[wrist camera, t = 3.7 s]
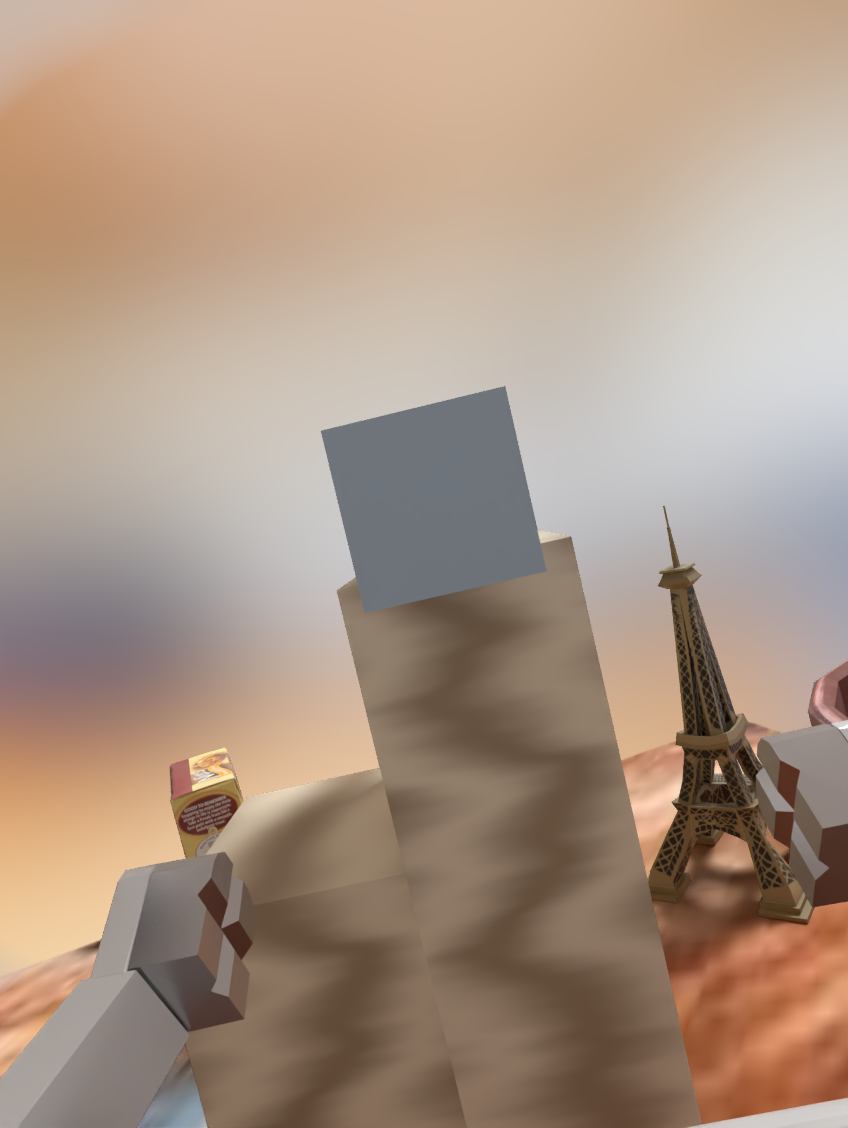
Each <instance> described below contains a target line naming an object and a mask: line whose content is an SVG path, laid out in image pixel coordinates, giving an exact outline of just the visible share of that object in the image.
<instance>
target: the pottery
mask: <svg viewBox="0 0 848 1128" xmlns="http://www.w3.org/2000/svg"><path fill="white" fill-rule="evenodd" d="M808 713H809V717H810V721H811V725H812V727H814V726H818V725H822V724H832V723H836V722H841V721H845V720H848V660H847V661H845V662H844V663H842V664H841V665H839V666H838V667H836V668H835V669H833V670H832V671H830V672H829V673H827V674H826V675H825V676H823V677H822V678H820V679H819V680H817V681H816V682H814V685H813V690H812V694H811V699H810V704H809V708H808Z"/></svg>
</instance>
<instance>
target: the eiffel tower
mask: <svg viewBox="0 0 848 1128" xmlns="http://www.w3.org/2000/svg"><path fill="white" fill-rule="evenodd" d="M663 508H664V513H665V517H666V522H667V526H668V528H667V530H668V535H669V541H670V548H671V555H672V561H673V566H670V567H667V568H666V569H664V570H662V571H660V574H663V576H662V579H661V581H660V583H659V585H658V586H659V587H662V588H666V589H670V593H671V603H672V613H673V623H674V632H675V641H676V652H677V661H678V672H679V682H680V692H681V702H682V712H683V721H684V730H683V731H680V732H678V733H677V736H676V745H679V746H682V748H683V750H684V766H683V781H682V785H681V790H680V794H679V797H678V798H677V799H675V800H674V801H672V803H673V805H674V806H675V807H676V809H677V810H678V812H677V814H676V816H675V818H674V820H673V823H672V825H671V827H670V829H669V831H668V833H667V835H666V837H665V840H664V842H663V844H662V846H661V848H660V851H659V853H658V855H657V857H656V859H655V862H654V864H653V866H652V868H651V870H650V875H649V877H648V878H647V880H648V884H649V889H650V893H651V898H652V900H657V901H664V902H670V903H677V902H678V900H679V899H680V897H681V896H682V894H683V893H684V891H685V890H686V888H687V887H688V885H689V884H690V882H691V879H690V874H689V873H684V871H685V868H686V865H687V863H688V860H689V858H690V855H691V853H692V850H693V847H694V845H695V844H705V845H716V844H717V842H718V841H719V839H720V838H721V836H722V835H723V833H724V832H726V833H729V834H731V835H733V836H736V837H739V838H740V839H742V840H744V841H746V842H747V843H748V846H749V850H750V854H751V857H752V861H753V864H754V868H755V871H756V875H757V878H758V882H759V886H760V889H761V893H762V897H761V899H760V901H759V907H760V909H759V911H758V916H762V917H768V918H775V919H781V920H788V921H794V922H801V923H807V924H808V923H809V920H810V918H811V915H812V913H813V910H814V908H815V907H812V906H811V904H810V903H809V901H808V899H807V897H806V896H805V894H804V892H803V890H802V888H801V887H800V885H799V883H798V881H797V879H796V878H795V876H794V874H793V872H792V870H791V869H790V867H789V865H788V864H787V863H786V861H785V860H784V859H783V858H782V857H781V855H780V854H779V853H778V852H777V850H776V849H775V848H774V847H773V846H772V844H771V843H770V842H769V841H768V840H767V838H766V829H767V824H766V822H765V820H764V817H763V815H762V813H761V810H760V807H759V803H758V798H757V794H756V775H757V774H758V773H759V771H760V770H761V769H762V768H763V766H762V765H761V763H760V762H759V761H758V759H757V758H756V756H755V754H754V752H753V750H752V748H751V746H750V744H749V742H748V740H747V739H746V737H745V735H744V734H745V731H746V729H747V726H748V724H749V723H748V721H747V719H746V718H745V716H744V714H743V713H742V714H737V715H735V712H734V709H733V706H732V703H731V700H730V697H729V694H728V691H727V688H726V685H725V682H724V679H723V676H722V673H721V670H720V667H719V664H718V661H717V658H716V655H715V652H714V649H713V646H712V643H711V640H710V637H709V634H708V631H707V628H706V625H705V622H704V619H703V616H702V613H701V610H700V606H699V603H698V600H697V598H696V594H695V591H694V588H693V584H694V583H695V581H697V580H698V578H699V577H700V576H701V574H699V573H698V572H697V571H696V570H694V568H692V566H694V565H695V564H694V563H691V564H684V565H680V564H679V560H678V556H677V553H676V549H675V545H674V541H673V538H672V534H671V530H670V527H669V524H668V519H667V515H666V510H665V506H663ZM736 758H737V759H736ZM715 760H718V763H719V766H720V768H721V771H722V773H723V774H714V766H715ZM737 760H738V761H737ZM738 762H739V764H740V766H741V768H742V770H743V772H744V774H745V775H743V774H742V771H741V769H740V766H739V764H738ZM789 849H790V848H789Z"/></svg>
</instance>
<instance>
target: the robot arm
mask: <svg viewBox="0 0 848 1128" xmlns="http://www.w3.org/2000/svg"><path fill="white" fill-rule="evenodd" d="M757 757H758V758H759V760H760V762H761V763H762V765H763V768H762V769H761V770H760V771H759V773H758V774H757V775H756V794H757V798H758V803H759V807H760V810H761V813H762V815H763V817H764V820H765V822H766V824H767V826H768V828H769V830H770V832H771V834H772V836H773V838H774V839H776V840H777V841H779V842H781V843H782V844H784V845H785V846H787V847H789V848H790V857H789V867H790V869H791V870H792V872H793V874H794V876H795V878H796V879H797V881H798V883H799V885H800V887H801V888H802V890H803V892H804V894H805V896H806V897H807V899H808V901H809V903H810V904H811V906H812V907H818V906H824V905H829V904H835V903H841V902H847V901H848V720H845V721H841V722H836V723H832V724H822V725H818V726H814V727H810V728H805V729H801V730H796V731H791V732H787V733H782V734H778V735H773V736H769V737H764V738H761V739H760V741H759V743H758V747H757ZM232 870H233V863H232V862H231V860H230V859H229V857H228V856H227V854H226V853H225V852H220V853H215V854H209V855H204V856H198V857H193V858H187V859H182V860H176V861H171V862H166V863H160V864H155V865H150V866H145V867H139V868H135V869H130V870H125V872H124V874H123V875H122V876H121V878H120V879H119V881H118V883H117V887H116V890H115V894H114V897H113V901H112V904H111V908H110V911H109V915H108V918H107V922H106V925H105V928H104V932H103V935H102V939H101V942H100V946H99V949H98V953H97V956H96V960H95V963H94V967H93V970H92V974H91V977H90V979H86V980H82V981H80V982H79V983H78V985H77V986H76V987H75V988H74V989H73V991H72V992H71V993H70V994H69V996H68V997H67V998H66V999H65V1000H64V1002H63V1003H62V1004H61V1005H60V1006H59V1008H58V1009H57V1010H56V1011H55V1013H54V1014H53V1015H52V1016H51V1017H50V1019H49V1020H48V1021H47V1022H46V1023H45V1025H44V1026H43V1027H42V1028H41V1030H40V1031H39V1032H38V1033H37V1034H36V1036H35V1037H34V1038H33V1039H32V1040H31V1042H30V1043H29V1044H28V1045H27V1047H26V1048H25V1049H24V1050H23V1051H22V1053H21V1054H20V1055H19V1056H18V1057H17V1059H16V1060H15V1061H14V1062H13V1063H12V1065H11V1066H10V1067H9V1068H8V1070H7V1071H6V1072H5V1073H4V1074H3V1076H2V1077H1V1078H0V1128H137V1126H138V1125H139V1123H140V1121H141V1120H142V1118H143V1116H144V1114H145V1113H146V1111H147V1109H148V1107H149V1106H150V1104H151V1102H152V1100H153V1099H154V1097H155V1095H156V1093H157V1092H158V1090H159V1088H160V1087H161V1085H162V1083H163V1081H164V1080H165V1078H166V1076H167V1074H168V1073H169V1071H170V1069H171V1067H172V1066H173V1064H174V1062H175V1060H176V1059H177V1057H178V1055H179V1053H180V1052H181V1050H182V1048H183V1047H184V1045H185V1043H186V1041H187V1040H188V1038H189V1036H190V1035H189V1033H188V1032H191V1031H195V1030H200V1029H204V1028H208V1027H213V1026H217V1025H221V1024H226V1023H230V1022H235V1021H239V1020H243V1019H245V1010H246V1002H247V993H248V984H249V975H250V973H249V971H248V970H247V968H246V967H245V965H244V964H243V962H242V961H241V960H242V959H243V957H244V956H245V954H246V953H247V951H248V950H249V949H250V947H251V946H252V944H253V938H254V927H255V922H254V910H253V903H252V899H251V896H250V893H249V890H248V888H247V887H246V885H245V883H244V881H242V880H239V879H237V878H235V877H233V876H232ZM686 1128H848V1098H844V1099H838V1100H833V1101H828V1102H822V1103H817V1104H811V1105H806V1106H800V1107H795V1108H790V1109H784V1110H779V1111H773V1112H768V1113H762V1114H757V1115H752V1116H746V1117H741V1118H735V1119H730V1120H724V1121H719V1122H713V1123H708V1124H703V1125H697V1126H692V1127H686Z"/></svg>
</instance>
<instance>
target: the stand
mask: <svg viewBox="0 0 848 1128" xmlns="http://www.w3.org/2000/svg"><path fill="white" fill-rule="evenodd" d="M538 534H539V539H540V543H541V548H542V552H543V557H544V561H545V566H546V570H547V571H546V572H542V573H537V574H533V575H529V576H524V577H520V578H515V579H511V580H507V581H502V582H498V583H494V584H489V585H485V586H481V587H476V588H472V589H468V590H463V591H459V592H455V593H450V594H446V595H441V596H437V597H433V598H428V599H424V600H420V601H415V602H411V603H407V604H402V605H398V606H394V607H389V608H385V609H381V610H376V611H372V612H367V613H365V612H364V608H363V604H362V599H361V595H360V591H359V587H358V583H357V579H356V577H355V578H354V579H353V580H351V581H350V582H348V583H347V584H346V585H344V586H343V587H341V588H340V589H338V590H337V594H338V598H339V602H340V606H341V610H342V614H343V618H344V622H345V627H346V630H347V635H348V639H349V643H350V647H351V651H352V655H353V659H354V664H355V668H356V672H357V675H358V680H359V684H360V688H361V693H362V697H363V700H364V705H365V709H366V713H367V717H368V721H369V726H370V730H371V734H372V737H373V742H374V746H375V750H376V754H377V759H378V763H379V767H380V768H377V769H372V770H368V771H363V772H359V773H354V774H350V775H345V776H340V777H336V778H331V779H327V780H322V781H317V782H313V783H308V784H304V785H300V786H295V787H290V788H286V789H281V790H276V791H272V792H267V793H263V794H258V795H254V796H250V797H246V798H245V800H244V801H243V803H242V804H241V805H240V807H239V808H238V810H237V811H236V812H235V814H234V815H233V817H232V818H231V820H230V821H229V822H228V824H227V825H226V827H225V828H224V829H223V831H222V832H221V834H220V835H219V836H218V838H217V839H216V841H215V842H214V843H213V845H212V846H211V848H210V849H209V850H208V852H207V853H206V855H209V854H215V853H220V852H225V853H226V854H227V856H228V857H229V859H230V860H231V862H232V863H233V870H232V876H233V877H235V878H237V879H239V880H242V881H244V883H245V885H246V887H247V888H248V890H249V893H250V896H251V899H252V903H253V910H254V922H255V927H254V938H253V944H252V946H251V947H250V949H249V950H248V951H247V953H246V954H245V956H244V957H243V959H242V960H241V961H242V962H243V964H244V965H245V967H246V968H247V970H248V971H249V973H250V975H249V984H248V993H247V1002H246V1010H245V1019H243V1020H239V1021H235V1022H230V1023H226V1024H221V1025H217V1026H213V1027H208V1028H204V1029H200V1030H195V1031H191V1032H188V1033H189V1035H190V1036H189V1038H188V1040H187V1041H186V1047H187V1051H188V1054H189V1058H190V1062H191V1066H192V1070H193V1073H194V1077H195V1081H196V1085H197V1089H198V1092H199V1096H200V1100H201V1104H202V1107H203V1111H204V1115H205V1119H206V1123H207V1126H208V1128H686V1127H692V1126H697V1125H702V1122H701V1118H700V1113H699V1109H698V1104H697V1100H696V1095H695V1091H694V1086H693V1082H692V1077H691V1073H690V1068H689V1064H688V1059H687V1055H686V1050H685V1046H684V1041H683V1037H682V1032H681V1028H680V1023H679V1019H678V1014H677V1010H676V1005H675V1001H674V997H673V992H672V988H671V983H670V979H669V974H668V970H667V965H666V961H665V956H664V952H663V947H662V943H661V938H660V934H659V929H658V925H657V920H656V916H655V911H654V907H653V902H652V898H651V893H650V889H649V884H648V880H647V875H646V871H645V866H644V862H643V857H642V853H641V848H640V844H639V839H638V835H637V830H636V826H635V821H634V817H633V812H632V808H631V803H630V799H629V794H628V790H627V785H626V781H625V776H624V772H623V767H622V763H621V758H620V754H619V749H618V745H617V740H616V736H615V731H614V727H613V722H612V718H611V714H610V709H609V705H608V700H607V696H606V691H605V687H604V682H603V678H602V673H601V669H600V664H599V660H598V655H597V651H596V646H595V642H594V637H593V633H592V628H591V624H590V619H589V615H588V610H587V606H586V601H585V597H584V592H583V588H582V583H581V579H580V574H579V570H578V565H577V561H576V556H575V552H574V547H573V543H572V538H571V536H567V535H562V534H557V533H552V532H547V531H542V530H538Z"/></svg>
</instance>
